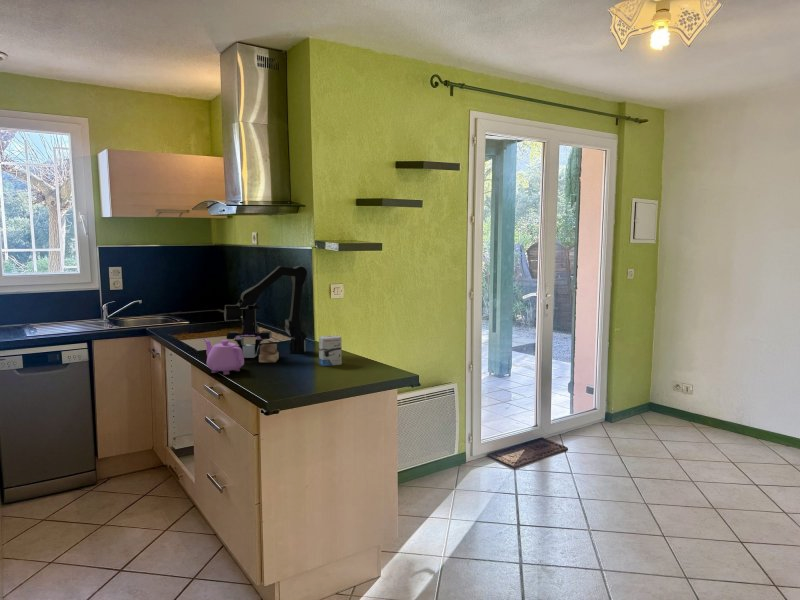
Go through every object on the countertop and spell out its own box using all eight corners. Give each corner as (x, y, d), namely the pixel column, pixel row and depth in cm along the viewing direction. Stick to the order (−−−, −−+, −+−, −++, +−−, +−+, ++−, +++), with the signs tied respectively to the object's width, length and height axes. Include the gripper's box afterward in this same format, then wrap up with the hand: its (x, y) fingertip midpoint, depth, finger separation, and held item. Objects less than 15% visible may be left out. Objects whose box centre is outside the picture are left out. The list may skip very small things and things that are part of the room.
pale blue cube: (256, 355, 250) (256, 344, 250) (254, 357, 245) (254, 346, 245) (245, 355, 250) (245, 344, 250) (243, 357, 245) (242, 346, 245)
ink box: (322, 366, 229) (322, 338, 228) (318, 364, 234) (318, 336, 232) (342, 364, 233) (341, 336, 232) (337, 362, 237) (337, 334, 236)
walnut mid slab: (276, 351, 243) (276, 343, 242) (274, 354, 237) (274, 346, 236) (263, 351, 243) (262, 343, 242) (260, 354, 237) (259, 346, 236)
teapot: (191, 372, 219) (190, 340, 217) (218, 364, 231) (217, 335, 230) (230, 378, 210) (229, 345, 209) (255, 370, 223) (255, 339, 221)
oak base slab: (278, 359, 244) (278, 351, 243) (275, 362, 237) (275, 354, 236) (262, 359, 244) (262, 351, 243) (259, 363, 237) (258, 354, 236)
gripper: (273, 316, 254) (274, 350, 256) (232, 316, 254) (233, 350, 255) (269, 320, 243) (269, 355, 245) (225, 320, 242) (226, 355, 244)
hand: (249, 354), depth 248 cm, fingers closed on pale blue cube, 5 cm apart
